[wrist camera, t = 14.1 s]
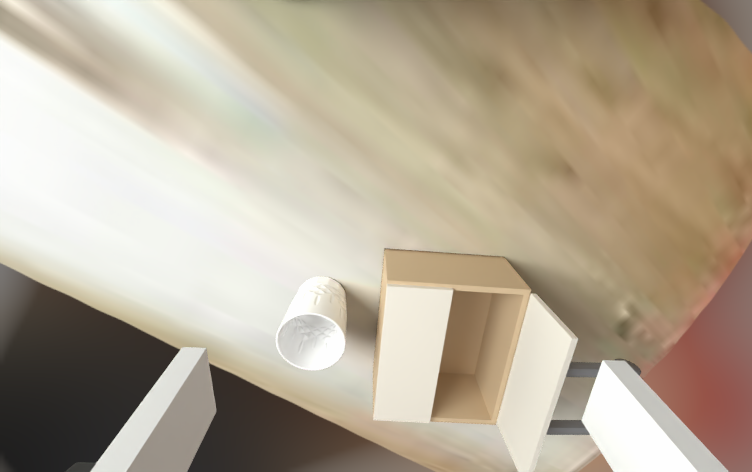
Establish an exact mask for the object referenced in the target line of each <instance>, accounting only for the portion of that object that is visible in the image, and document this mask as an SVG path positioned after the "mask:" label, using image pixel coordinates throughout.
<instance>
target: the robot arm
mask: <svg viewBox="0 0 752 472" xmlns="http://www.w3.org/2000/svg"><path fill="white" fill-rule="evenodd" d="M215 413H216V405H215V400H214V393H213V387H212V381H211V374H210V369H209V362H208V355H207V349H206V348H193V347H182V349H181V350H180V352H179V353H178V354H177V355H176V357H175V358H174V359H173V361H172V362H171V363H170V365H169V366H168V367H167V369H166V370H165V371H164V373H163V374H162V376H161V377H160V378H159V380H158V381H157V382H156V384H155V385H154V386H153V388H152V389H151V390H150V392H149V393H148V395H147V396H146V397H145V398H144V400H143V401H142V403H141V404H140V405H139V407H138V408H137V409H136V411H135V412H134V413H133V415H132V416H131V417H130V419H129V420H128V422H127V423H126V424H125V425H124V427H123V428H122V430H121V431H120V432H119V434H118V435H117V436H116V438H115V439H114V440H113V442H112V443H111V444H110V446H109V447H108V448H107V450H106V451H105V452H104V454H103V455H102V456H101V458H100V459H99V460H98V462H97V463H83V462H77V463H76V464H74V465H73V466H72V467H70V468H69V469H68V470H67V471H65V472H187V470H188V468H189V466H190V464H191V462H192V460H193V458H194V456H195V454H196V451H197V450H198V448H199V446H200V444H201V442H202V439H203V438H204V435H205V433H206V431H207V429H208V427H209V425H210V423H211V421H212V419H213V417H214V415H215ZM581 421H582V422H583V424H584V426H585V427H586V429H587V430H588V432H589V434H590V435H591V437H592V438H593V440H594V441H595V443H596V445H597V446H598V448H599V449H600V451H601V453H602V454H603V456H604V457H605V459H606V460H607V462H608V464H609V465H610V467H611V468H612V470H613V471H614V472H728V470H727V469H726V468H725V467H724V466H723V465H722V464H721V463H720V462H719V461H718V460H717V459H716V458H715V457H714V455H713V454H712V453H711V452H710V451H709V450H708V449H707V448H706V447H705V446H704V445H703V444H702V443H701V442H700V440H699V439H698V438H697V437H696V436H695V435H694V434H693V433H692V432H691V431H690V430H689V429H688V428H687V426H686V425H685V424H684V423H682V421H681V420H680V419H679V418H678V417H677V416H676V415H675V414H674V413H673V412H672V410H670V409H669V407H668V406H667V405H666V404H665V403H664V402H663V401H662V400H661V399H660V398H659V397H658V396H657V394H656V393H655V392H654V391H653V390H652V389H651V388H650V387H649V386H648V385H647V384H646V383H645V382H644V381H643V379H642V378H641V377H640V376H639V375H638V374H637V373H636V372H635V371H634V370H633V369H632V368H631V367H630V366H629V364H628V363H627V362H626V361H615V360H602V363H601V366H600V369H599V372H598V375H597V378H596V380H595V383H594V386H593V389H592V392H591V395H590V398H589V400H588V403H587V406H586V409H585V412H584V415H583V418H582V420H581Z"/></svg>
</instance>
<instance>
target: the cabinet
mask: <svg viewBox="0 0 752 472" xmlns="http://www.w3.org/2000/svg"><path fill="white" fill-rule="evenodd" d="M530 293H531V289H530V288H529V286H528V285H527V284H526V283H525V282H524V280H523V279H522V278H521V277H520V276H519V274H518V273H517V272H516V271H515V270H514V268H513V267H512V266H511V265H510V264H509V262H508V261H507V260H506V259H505V258H504V257H499V256H485V255H471V254H456V253H442V252H427V251H413V250H399V249H385V250H384V260H383V270H382V281H381V291H380V302H379V312H378V322H377V333H376V343H375V354H374V364H373V420H382V421H401V422H421V423H430V421H432V422H451V423H471V424H490V425H496V422H497V418H498V414H499V410H500V407H501V403H502V399H503V395H504V391H505V388H506V384H507V380H508V376H509V373H510V369H511V365H512V361H513V357H514V354H515V350H516V346H517V342H518V338H519V335H520V331H521V327H522V323H523V320H524V316H525V312H526V308H527V304H528V301H529V297H530Z"/></svg>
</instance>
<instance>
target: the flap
mask: <svg viewBox="0 0 752 472" xmlns="http://www.w3.org/2000/svg"><path fill="white" fill-rule="evenodd" d="M577 341H578V338H577V337H576V336H575V335H574V334H573V332H572V331H571V330H570V329H569V328H568V327H567V326H566V325H565V324H564V323H563V322H562V321H561V320H560V319H559V318H558V316H557V315H556V314H555V313H554V312H553V311H552V310H551V309H550V308H549V307H548V306H547V305H546V304H545V303H544V302H543V301H542V299H541V298H540V297H539V296H538V295H537V294H532V293H531V295H530V299H529V303H528V306H527V310H526V314H525V318H524V321H523V325H522V329H521V333H520V336H519V340H518V344H517V348H516V352H515V355H514V359H513V363H512V367H511V370H510V374H509V378H508V382H507V386H506V389H505V393H504V397H503V401H502V404H501V408H500V412H499V416H498V419H497V425H498V428H499V430H500V432H501V434H502V437H503V439H504V441H505V443H506V446H507V448H508V450H509V452H510V455H511V457H512V459H513V461H514V464H515V466H516V468H517V470H518V472H534V470H535V467H536V464H537V461H538V458H539V455H540V452H541V449H542V446H543V443H544V440H545V437H546V435H590V434H589V432H588V430H587V429H586V427H585V426H584V424H583V422H582V421H581V420H551V419H552V416H553V413H554V410H555V407H556V404H557V401H558V398H559V395H560V392H561V389H562V386H563V383H564V380H565V377H597V375H598V372H599V369H600V366H601V363H585V362H571V359H572V356H573V353H574V350H575V347H576V344H577ZM615 361H626V362H627V363H628V364H629V366H630V367H631V368H632V369H633V370H634V371H635V372H636V373H637V374H638V375H639V376H640V373H641V370H640V369H639V368H638V367H637V366H636V365H635V364H633V363H631V362H629V361H627V360H624V359H615Z"/></svg>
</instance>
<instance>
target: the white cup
mask: <svg viewBox="0 0 752 472" xmlns="http://www.w3.org/2000/svg"><path fill="white" fill-rule="evenodd" d="M346 325H347V306H346V294H345V290H344V289H343V288H342V286H341V285H340V283H338V282H337V281H335V280H333V279H331V278H329V277H321V276H318V277H314V278H311V279H308V280H307V281H306V282H305V283H304V284H303V285H301V286H300V288H299V291H298V293H297V295H296V296H295V297H294V299H293V301H292V303H291V305H290V306H289V308H288V311H287V313H286V315H285V317H284V319H283V321H282V323H281V325H280V327H279V329H278V331H277V335H276V345H277V349H278V351H279V353H280V354H281V356H282V357H283V358H284V359H285V360H286V361H287V362H288V363H290V364H291V365H293V366H295V367H297V368H300V369H304V370H321V369H325V368H328V367H330V366H332V365H334V364H335V363H336V362H337V361H338V360H339V359H340V358H341V357H342V355H343V353H344V351H345V347H346Z"/></svg>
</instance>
